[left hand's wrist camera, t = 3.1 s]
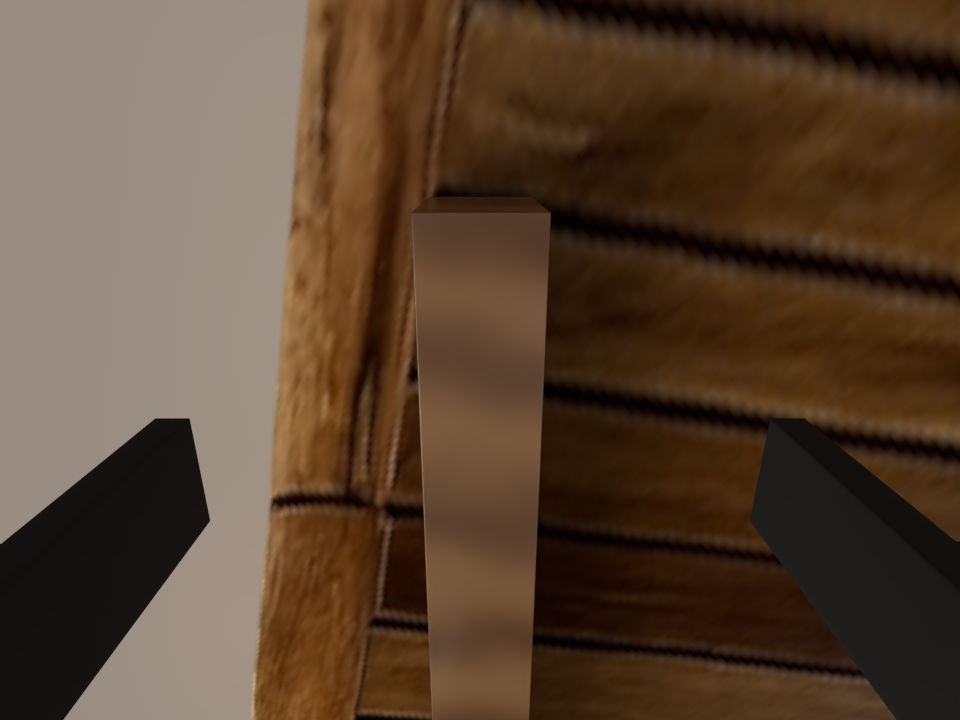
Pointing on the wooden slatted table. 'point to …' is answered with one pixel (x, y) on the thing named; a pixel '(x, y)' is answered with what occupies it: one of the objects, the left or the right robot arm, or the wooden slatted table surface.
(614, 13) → the wooden slatted table surface
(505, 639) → the beam
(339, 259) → the wooden slatted table surface
